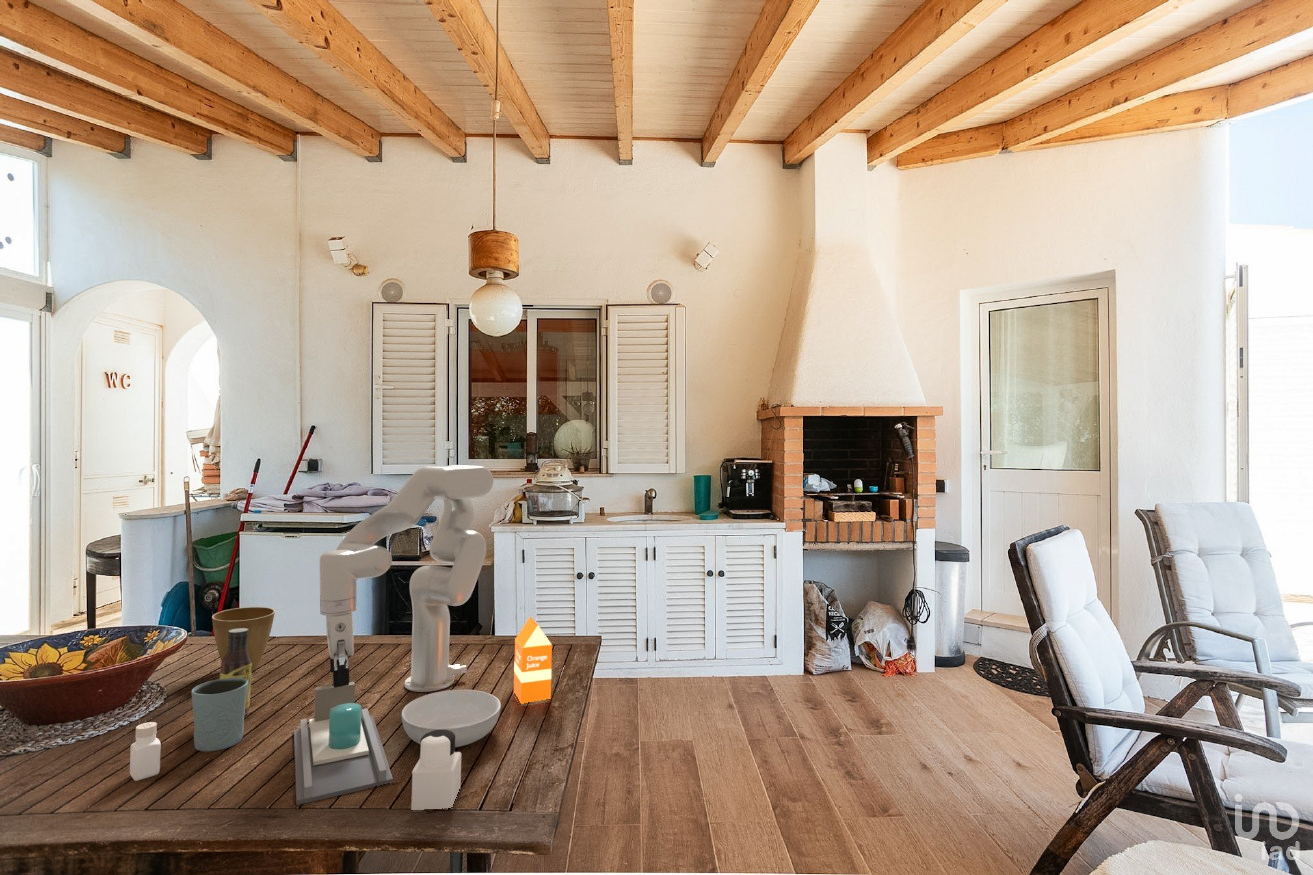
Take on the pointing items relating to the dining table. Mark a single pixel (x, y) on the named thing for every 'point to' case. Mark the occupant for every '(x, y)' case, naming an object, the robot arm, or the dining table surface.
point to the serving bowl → (452, 715)
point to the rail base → (339, 766)
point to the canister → (344, 726)
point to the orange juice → (532, 664)
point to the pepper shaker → (145, 752)
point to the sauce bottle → (238, 660)
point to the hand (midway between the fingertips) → (339, 678)
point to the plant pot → (248, 617)
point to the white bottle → (436, 772)
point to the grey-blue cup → (219, 713)
